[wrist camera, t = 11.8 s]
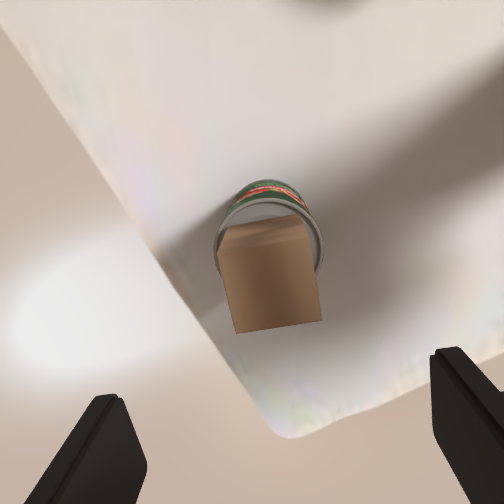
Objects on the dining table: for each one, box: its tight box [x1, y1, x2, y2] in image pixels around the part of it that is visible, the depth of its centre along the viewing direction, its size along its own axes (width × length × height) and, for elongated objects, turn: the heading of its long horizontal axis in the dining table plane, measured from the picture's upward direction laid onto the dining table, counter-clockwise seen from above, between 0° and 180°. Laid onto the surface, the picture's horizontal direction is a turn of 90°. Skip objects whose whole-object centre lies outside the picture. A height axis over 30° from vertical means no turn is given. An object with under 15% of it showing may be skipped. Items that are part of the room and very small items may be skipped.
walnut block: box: [217, 213, 322, 334], centre depth 22 cm, size 5×5×6 cm
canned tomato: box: [214, 179, 323, 277], centre depth 30 cm, size 8×8×11 cm
